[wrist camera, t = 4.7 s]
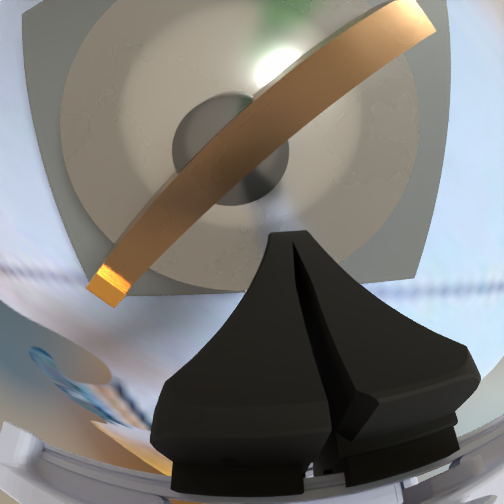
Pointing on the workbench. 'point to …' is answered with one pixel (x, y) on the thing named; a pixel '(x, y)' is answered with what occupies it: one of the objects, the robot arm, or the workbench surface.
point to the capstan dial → (238, 131)
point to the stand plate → (152, 283)
